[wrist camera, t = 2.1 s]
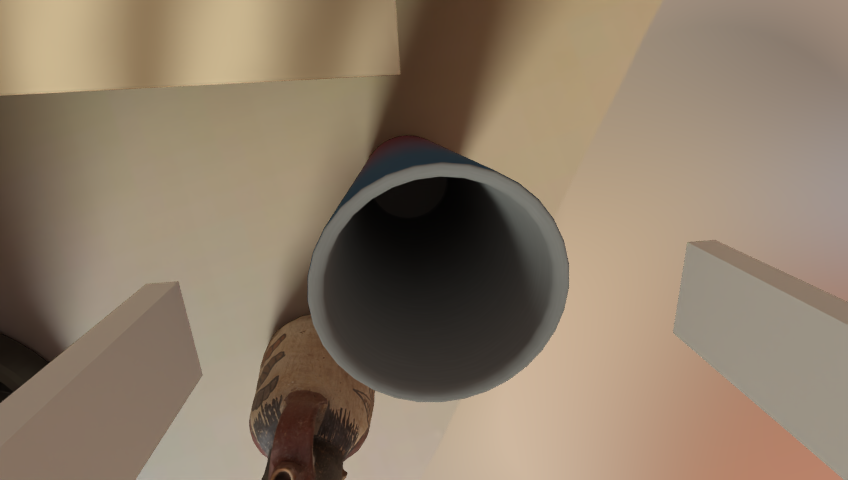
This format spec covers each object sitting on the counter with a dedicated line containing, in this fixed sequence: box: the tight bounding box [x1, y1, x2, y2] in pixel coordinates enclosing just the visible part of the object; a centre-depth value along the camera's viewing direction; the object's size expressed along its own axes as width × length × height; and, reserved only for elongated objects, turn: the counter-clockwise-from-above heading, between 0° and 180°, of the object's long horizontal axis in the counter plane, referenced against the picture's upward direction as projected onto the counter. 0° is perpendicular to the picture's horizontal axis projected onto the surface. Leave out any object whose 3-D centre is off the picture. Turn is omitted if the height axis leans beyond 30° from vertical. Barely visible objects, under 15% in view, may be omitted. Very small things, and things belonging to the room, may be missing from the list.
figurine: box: [249, 314, 375, 480], centre depth 23 cm, size 7×7×12 cm
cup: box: [308, 135, 569, 402], centre depth 18 cm, size 7×7×15 cm
